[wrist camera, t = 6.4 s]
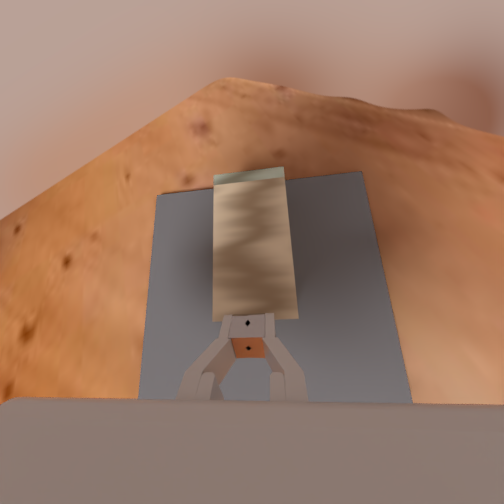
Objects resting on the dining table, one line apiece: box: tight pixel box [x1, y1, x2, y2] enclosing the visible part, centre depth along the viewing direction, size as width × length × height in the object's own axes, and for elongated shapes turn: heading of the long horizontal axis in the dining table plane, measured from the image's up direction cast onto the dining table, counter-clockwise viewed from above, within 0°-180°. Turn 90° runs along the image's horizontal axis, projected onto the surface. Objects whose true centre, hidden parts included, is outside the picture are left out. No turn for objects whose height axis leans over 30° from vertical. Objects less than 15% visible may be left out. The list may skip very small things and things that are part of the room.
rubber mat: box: [138, 171, 413, 403], centre depth 18 cm, size 22×20×1 cm
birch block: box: [212, 166, 299, 322], centre depth 17 cm, size 6×4×12 cm
